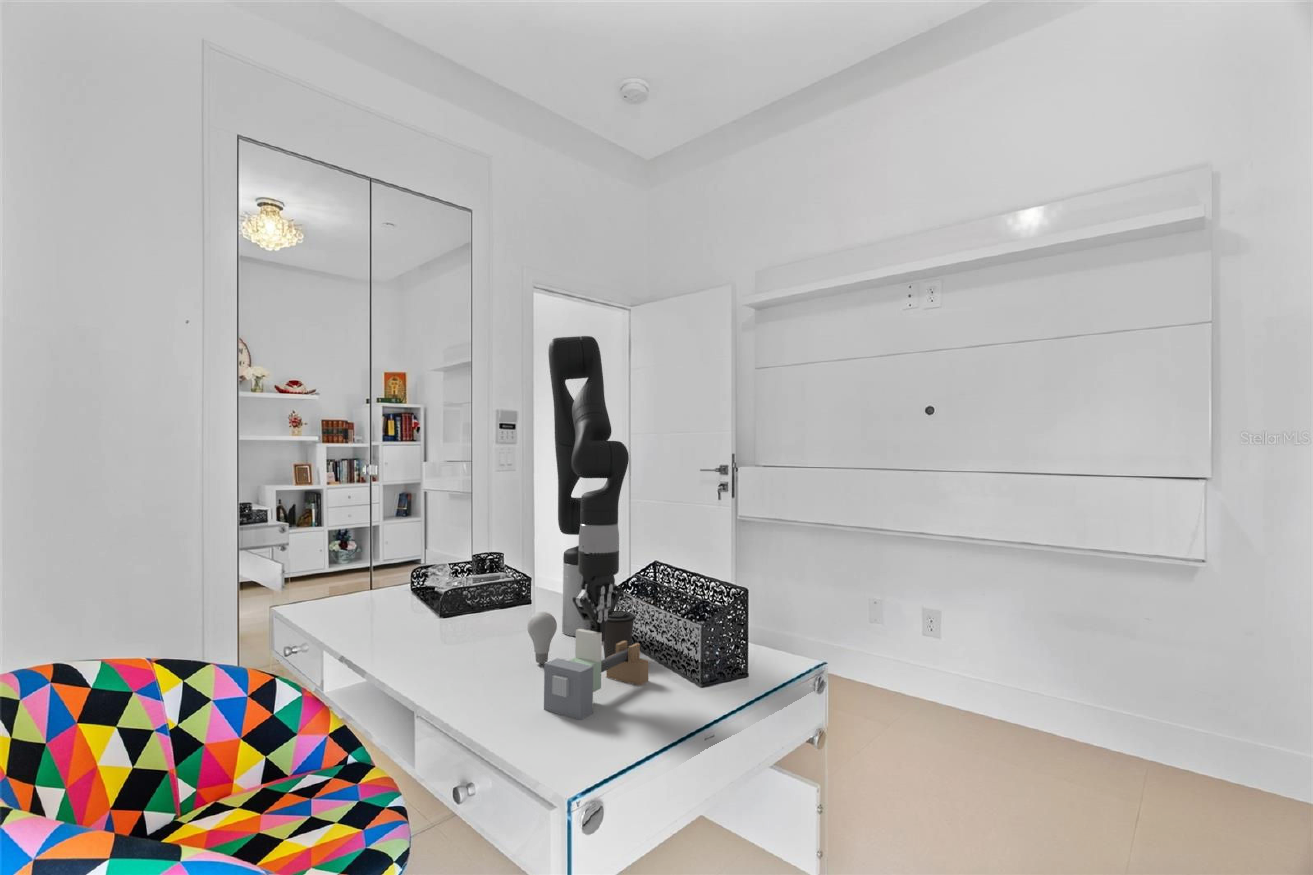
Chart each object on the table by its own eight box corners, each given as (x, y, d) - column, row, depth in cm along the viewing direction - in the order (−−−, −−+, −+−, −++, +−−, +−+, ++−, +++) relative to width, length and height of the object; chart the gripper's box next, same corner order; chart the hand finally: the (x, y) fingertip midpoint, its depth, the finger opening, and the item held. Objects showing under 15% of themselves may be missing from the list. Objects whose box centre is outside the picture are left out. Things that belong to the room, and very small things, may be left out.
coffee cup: (630, 665, 140) (631, 618, 140) (593, 662, 141) (594, 615, 141) (639, 654, 147) (639, 609, 148) (604, 651, 149) (604, 606, 149)
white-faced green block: (578, 683, 122) (579, 628, 122) (600, 688, 120) (601, 632, 120) (565, 689, 119) (566, 633, 119) (587, 695, 116) (588, 638, 116)
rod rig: (614, 673, 135) (615, 633, 135) (648, 680, 131) (648, 640, 131) (540, 710, 115) (541, 664, 115) (577, 721, 111) (578, 673, 111)
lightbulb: (528, 670, 136) (528, 616, 136) (525, 660, 142) (526, 609, 142) (557, 668, 138) (558, 614, 138) (554, 658, 143) (555, 607, 144)
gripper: (603, 542, 130) (601, 630, 130) (560, 550, 119) (558, 647, 119) (635, 545, 127) (634, 636, 126) (594, 554, 115) (592, 654, 115)
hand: (597, 641), depth 123 cm, fingers closed
